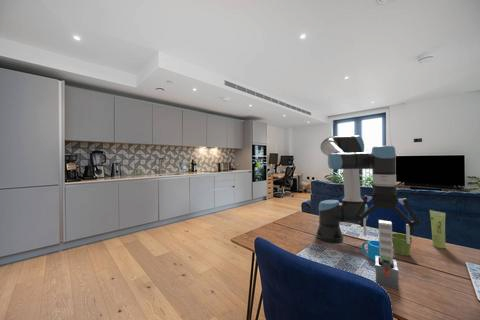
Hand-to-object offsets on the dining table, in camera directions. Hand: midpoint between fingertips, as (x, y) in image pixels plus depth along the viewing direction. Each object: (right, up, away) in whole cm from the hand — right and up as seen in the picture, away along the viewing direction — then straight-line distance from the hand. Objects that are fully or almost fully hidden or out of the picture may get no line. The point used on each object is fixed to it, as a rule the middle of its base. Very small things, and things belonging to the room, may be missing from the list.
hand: (385, 238), depth 76 cm
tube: (+52, -17, +30) cm, 63 cm away
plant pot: (+26, -18, +24) cm, 39 cm away
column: (0, -9, 0) cm, 9 cm away
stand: (0, -18, 0) cm, 18 cm away
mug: (+9, -18, +19) cm, 27 cm away
